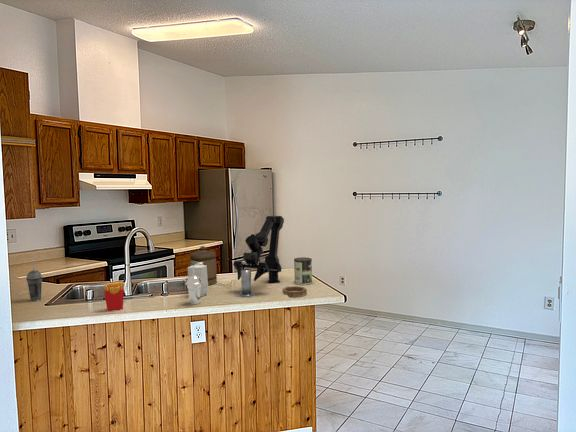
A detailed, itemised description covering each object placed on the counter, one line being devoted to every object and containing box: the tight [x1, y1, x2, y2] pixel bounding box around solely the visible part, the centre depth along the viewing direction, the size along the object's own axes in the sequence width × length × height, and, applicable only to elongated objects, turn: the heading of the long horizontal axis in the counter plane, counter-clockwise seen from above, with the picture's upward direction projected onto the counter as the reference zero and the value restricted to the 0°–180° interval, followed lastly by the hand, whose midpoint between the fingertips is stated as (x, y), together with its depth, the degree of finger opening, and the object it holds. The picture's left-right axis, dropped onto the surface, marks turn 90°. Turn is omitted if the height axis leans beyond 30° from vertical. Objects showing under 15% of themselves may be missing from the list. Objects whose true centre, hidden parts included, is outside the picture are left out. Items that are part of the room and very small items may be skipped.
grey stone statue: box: [185, 262, 204, 305], centre depth 215 cm, size 8×9×20 cm
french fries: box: [103, 280, 126, 312], centre depth 206 cm, size 9×4×13 cm, turn 109°
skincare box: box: [187, 265, 209, 298], centre depth 230 cm, size 8×7×16 cm
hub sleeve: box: [239, 268, 254, 298], centre depth 225 cm, size 7×7×13 cm
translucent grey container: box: [189, 245, 218, 287], centre depth 256 cm, size 15×15×22 cm
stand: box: [234, 292, 259, 299], centre depth 225 cm, size 9×9×1 cm
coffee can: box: [293, 256, 313, 286], centre depth 253 cm, size 10×10×14 cm
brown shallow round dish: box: [282, 285, 308, 298], centre depth 229 cm, size 13×13×3 cm
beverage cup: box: [25, 261, 43, 302], centre depth 224 cm, size 7×7×20 cm
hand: (246, 280), depth 225 cm, fingers open, 9 cm apart
